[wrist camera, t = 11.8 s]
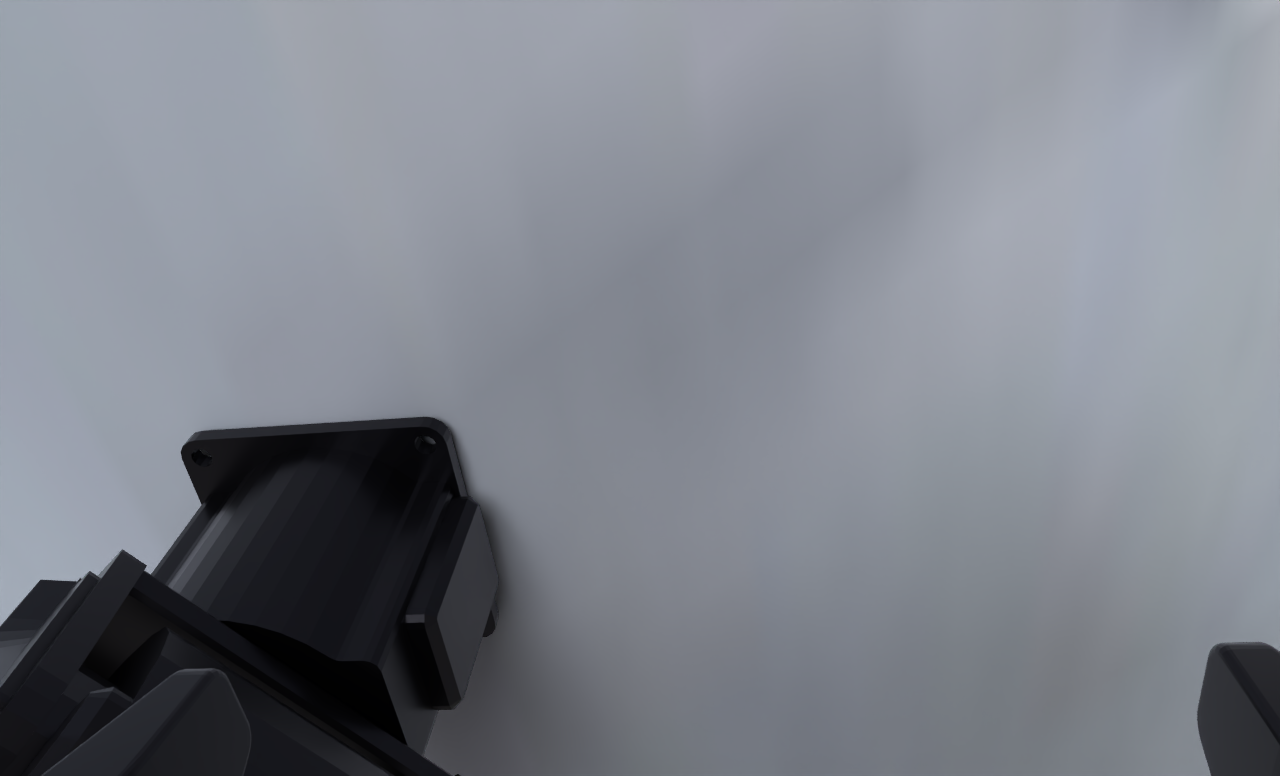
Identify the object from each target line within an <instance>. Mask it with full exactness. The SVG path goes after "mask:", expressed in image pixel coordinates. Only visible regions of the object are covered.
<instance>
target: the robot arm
mask: <svg viewBox="0 0 1280 776" xmlns="http://www.w3.org/2000/svg"><path fill="white" fill-rule="evenodd" d="M420 436H429V437H430V438H432V439H433V440H434V441H435V443H436V444H427V443H425V442H424V441H422V439H421V438H420ZM200 449H202V450H205V451H206V452H208V453H209V454H210V455H211V457H208V456H206V455H204V454H203V453H202V452H201V451H200ZM181 456H182V460H183V462H184V465H185V467H186V469H187V472H188V474H189V476H190V479H191V481H192V483H193V486H194V488H195V490H196V493H197V495H198V497H199V500H200V502H201V504H202V505H201V507H200V508H199V510H198V511H197V512H196V514H195V515H194V516H193V518H192V519H191V521H190V522H189V523H188V525H187V526H186V527H185V529H184V530H183V531H182V533H181V534H180V536H179V537H178V538H177V540H176V541H175V542H174V544H173V545H172V546H171V548H170V549H169V551H168V552H167V553H166V555H165V556H164V557H163V559H162V560H161V562H160V563H159V564H158V566H157V567H156V568H155V570H154V571H153V572H152V574H151V575H150V574H149V573H147V572H146V571H144V570H145V568H146V566H147V565H145V564H144V563H142V562H141V561H139V560H138V559H136V558H135V557H133V556H132V555H130V554H129V553H127V552H126V551H124V550H123V549H122V550H121V551H120V552H119V553H118V554H117V556H116V557H115V558H114V559H113V560H112V561H111V562H110V563H109V564H108V565H107V566H106V567H105V569H104V570H103V571H102V572H101V573H100V574H99V575H98V576H96V575H95V574H93V573H92V572H90V571H89V572H88V573H87V574H86V575H85V576H84V577H83V578H82V579H81V578H80V579H79V580H78V581H77V582H75V581H55V580H40V581H39V582H38V583H37V585H36V586H35V587H34V588H33V589H32V590H31V591H30V592H29V594H28V595H27V596H26V597H25V598H24V599H23V601H22V602H21V603H20V604H19V605H18V606H17V607H16V609H15V610H14V611H13V612H12V613H11V614H10V616H9V617H8V618H7V619H6V620H5V621H4V623H3V624H2V625H1V626H0V776H452V775H451V774H449V773H448V772H446V771H445V770H443V769H442V768H440V767H439V766H437V765H436V764H434V763H433V762H431V761H430V760H428V759H427V758H425V757H424V756H423V755H424V752H425V749H426V746H427V743H428V740H429V737H430V734H431V731H432V728H433V725H434V722H435V719H436V716H437V713H438V710H452V709H455V708H456V707H457V706H458V704H459V703H460V702H461V701H462V700H463V698H464V695H465V691H466V688H467V685H468V682H469V678H470V675H471V672H472V668H473V665H474V662H475V659H476V655H477V652H478V649H479V646H480V642H481V639H482V637H487V636H489V635H490V634H492V633H493V631H494V630H495V627H496V624H497V620H498V609H497V605H496V601H495V598H494V597H495V593H496V590H497V587H498V583H499V578H498V574H497V570H496V567H495V563H494V559H493V555H492V551H491V547H490V544H489V540H488V536H487V532H486V528H485V524H484V520H483V517H482V513H481V509H480V505H479V504H478V503H477V502H476V501H475V500H474V499H473V498H472V497H470V496H467V493H466V489H465V485H464V481H463V478H462V474H461V470H460V466H459V462H458V459H457V455H456V451H455V447H454V444H453V440H452V436H451V433H450V431H449V429H448V427H447V426H446V425H445V424H444V423H442V422H441V421H439V420H437V419H435V418H430V417H416V418H401V419H385V420H369V421H353V422H337V423H321V424H305V425H289V426H273V427H257V428H241V429H225V430H209V431H200V432H196V433H194V434H193V435H192V436H191V437H190V438H189V439H188V441H187V442H186V443H185V444H184V445H183V447H182V450H181ZM1197 721H1198V730H1199V735H1200V739H1201V743H1202V746H1203V750H1204V753H1205V756H1206V760H1207V763H1208V766H1209V770H1210V773H1211V776H1280V651H1278V650H1277V649H1275V648H1274V647H1272V646H1270V645H1268V644H1266V643H1262V642H1240V643H1220V644H1217V645H1215V646H1214V647H1213V648H1212V649H1211V651H1210V653H1209V656H1208V660H1207V665H1206V670H1205V675H1204V680H1203V685H1202V690H1201V695H1200V700H1199V705H1198V711H1197ZM455 776H461V775H459V774H457V775H455Z"/></svg>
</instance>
